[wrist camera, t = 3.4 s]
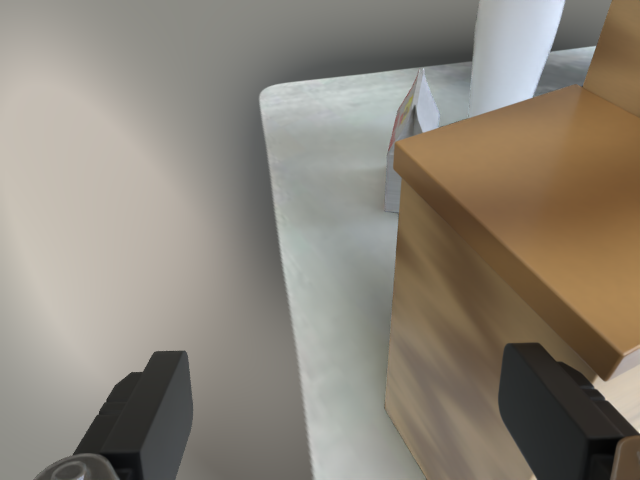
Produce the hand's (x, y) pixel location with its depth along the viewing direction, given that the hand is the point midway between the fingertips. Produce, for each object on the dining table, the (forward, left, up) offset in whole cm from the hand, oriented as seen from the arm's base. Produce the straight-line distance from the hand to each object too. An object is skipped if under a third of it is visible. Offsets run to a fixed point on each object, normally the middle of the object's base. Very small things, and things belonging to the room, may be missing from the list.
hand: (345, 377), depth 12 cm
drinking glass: (-39, -8, -18) cm, 44 cm away
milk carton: (-27, -11, -18) cm, 35 cm away
